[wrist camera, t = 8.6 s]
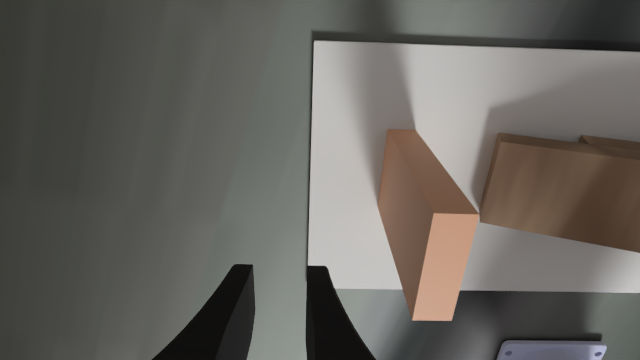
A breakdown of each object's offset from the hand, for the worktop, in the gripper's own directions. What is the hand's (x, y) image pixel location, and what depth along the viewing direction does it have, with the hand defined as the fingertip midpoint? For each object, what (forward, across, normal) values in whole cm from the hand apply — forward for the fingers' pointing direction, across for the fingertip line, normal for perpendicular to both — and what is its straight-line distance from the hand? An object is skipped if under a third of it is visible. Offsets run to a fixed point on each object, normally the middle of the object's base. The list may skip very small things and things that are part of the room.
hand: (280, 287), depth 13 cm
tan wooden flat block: (+10, -6, 0) cm, 12 cm away
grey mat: (+10, -16, +1) cm, 19 cm away
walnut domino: (+9, -11, 0) cm, 14 cm away
